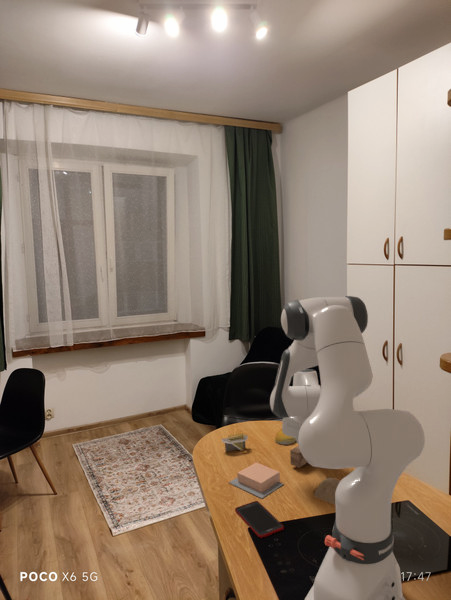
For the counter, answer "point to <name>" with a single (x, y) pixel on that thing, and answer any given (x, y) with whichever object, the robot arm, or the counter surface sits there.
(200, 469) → the counter surface
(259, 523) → the cell phone
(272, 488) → the mat
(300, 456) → the bar
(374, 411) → the robot arm
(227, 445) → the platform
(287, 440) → the bread roll
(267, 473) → the tile
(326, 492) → the clay tablet
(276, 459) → the counter surface
